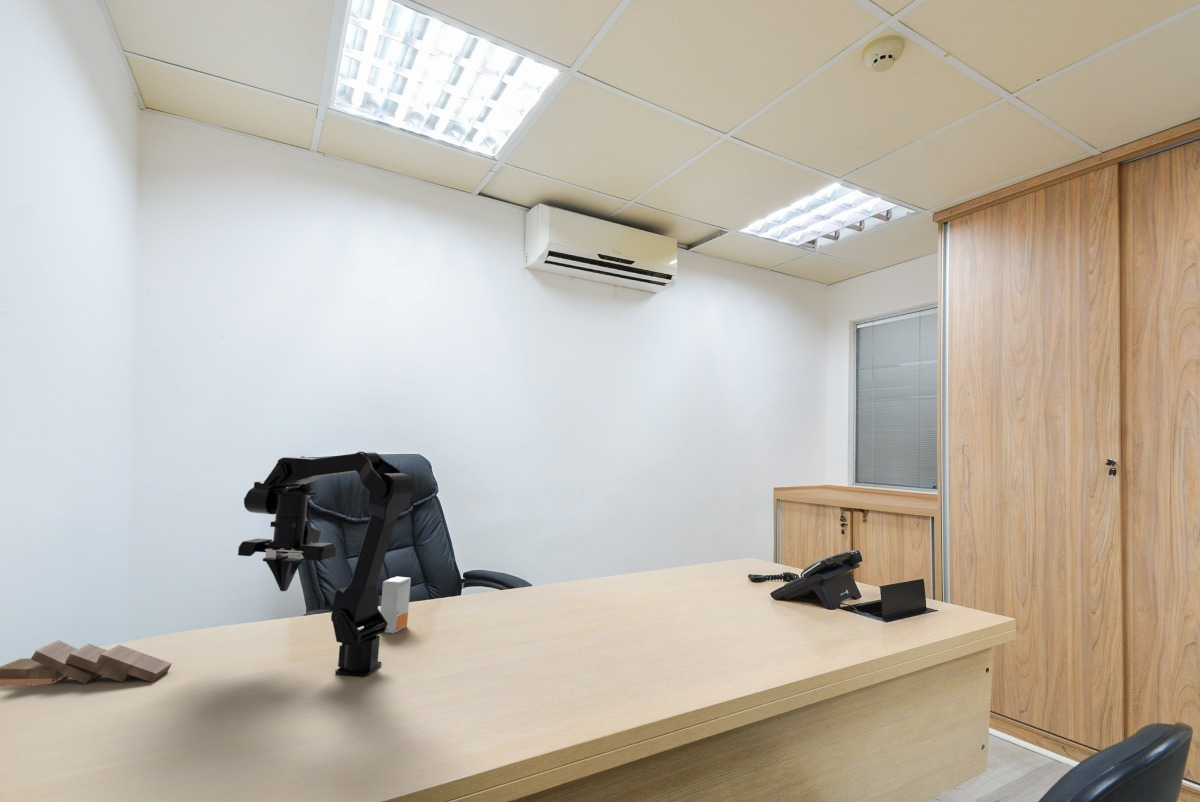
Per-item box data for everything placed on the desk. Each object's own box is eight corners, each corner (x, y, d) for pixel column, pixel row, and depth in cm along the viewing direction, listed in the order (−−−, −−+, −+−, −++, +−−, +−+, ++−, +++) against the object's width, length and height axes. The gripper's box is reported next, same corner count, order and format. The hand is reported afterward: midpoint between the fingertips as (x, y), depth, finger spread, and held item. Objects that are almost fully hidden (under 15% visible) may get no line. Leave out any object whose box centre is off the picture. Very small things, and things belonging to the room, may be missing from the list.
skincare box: (394, 634, 134) (398, 582, 135) (378, 632, 135) (382, 581, 136) (408, 626, 140) (411, 577, 141) (392, 625, 140) (396, 575, 142)
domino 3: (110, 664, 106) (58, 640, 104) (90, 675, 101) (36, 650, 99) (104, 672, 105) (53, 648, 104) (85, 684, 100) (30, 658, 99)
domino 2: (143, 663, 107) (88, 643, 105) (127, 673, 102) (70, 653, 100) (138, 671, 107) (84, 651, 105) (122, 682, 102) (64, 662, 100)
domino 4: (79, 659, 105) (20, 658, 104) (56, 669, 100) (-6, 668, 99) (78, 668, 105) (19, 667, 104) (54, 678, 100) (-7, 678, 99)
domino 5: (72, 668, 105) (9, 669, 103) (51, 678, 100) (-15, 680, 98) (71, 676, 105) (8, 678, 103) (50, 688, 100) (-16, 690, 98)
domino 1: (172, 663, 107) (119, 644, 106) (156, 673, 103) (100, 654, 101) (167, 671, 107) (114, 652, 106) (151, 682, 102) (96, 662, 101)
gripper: (352, 514, 128) (346, 585, 126) (275, 510, 130) (268, 579, 128) (323, 520, 117) (316, 597, 115) (239, 515, 118) (232, 591, 117)
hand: (283, 590), depth 119 cm, fingers closed
